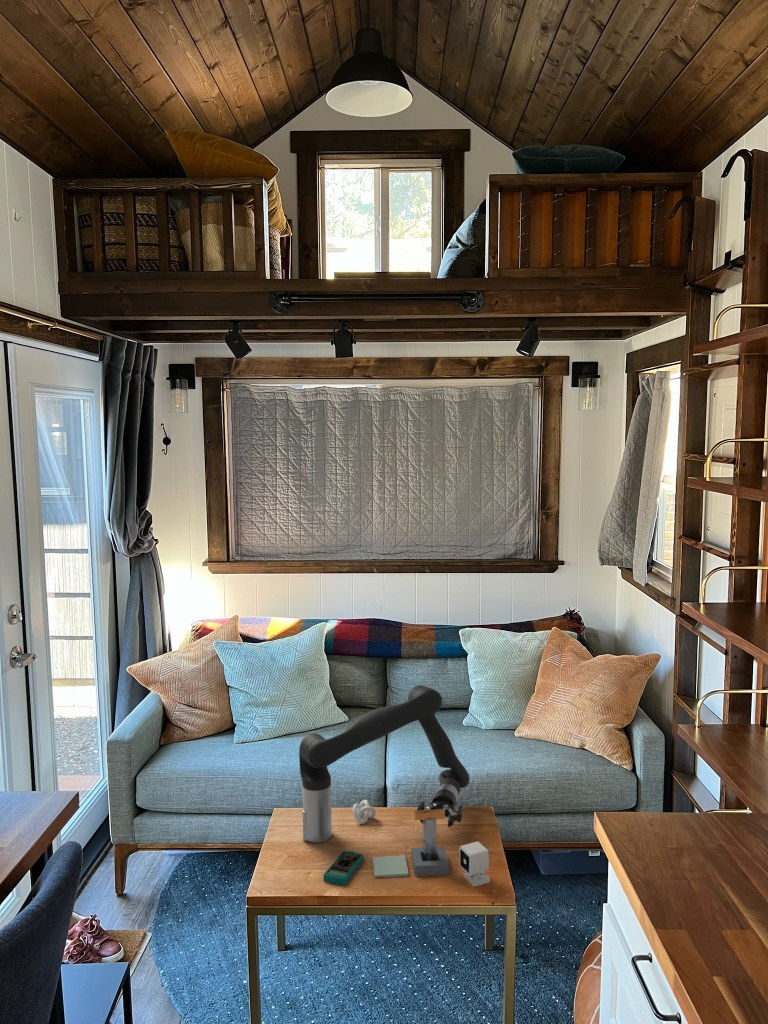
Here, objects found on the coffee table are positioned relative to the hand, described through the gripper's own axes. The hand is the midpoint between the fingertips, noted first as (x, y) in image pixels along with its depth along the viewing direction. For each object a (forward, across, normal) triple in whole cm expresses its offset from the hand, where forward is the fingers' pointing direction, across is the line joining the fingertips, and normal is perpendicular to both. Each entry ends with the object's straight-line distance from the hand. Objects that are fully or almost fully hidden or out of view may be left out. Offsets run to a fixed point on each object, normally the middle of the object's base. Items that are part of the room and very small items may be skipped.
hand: (435, 822), depth 234 cm
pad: (+13, -11, +9) cm, 20 cm away
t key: (+9, 0, +9) cm, 13 cm away
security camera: (+14, +14, +9) cm, 22 cm away
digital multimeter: (+18, -24, +10) cm, 32 cm away
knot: (-13, -28, +9) cm, 32 cm away
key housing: (+9, 0, +9) cm, 13 cm away
